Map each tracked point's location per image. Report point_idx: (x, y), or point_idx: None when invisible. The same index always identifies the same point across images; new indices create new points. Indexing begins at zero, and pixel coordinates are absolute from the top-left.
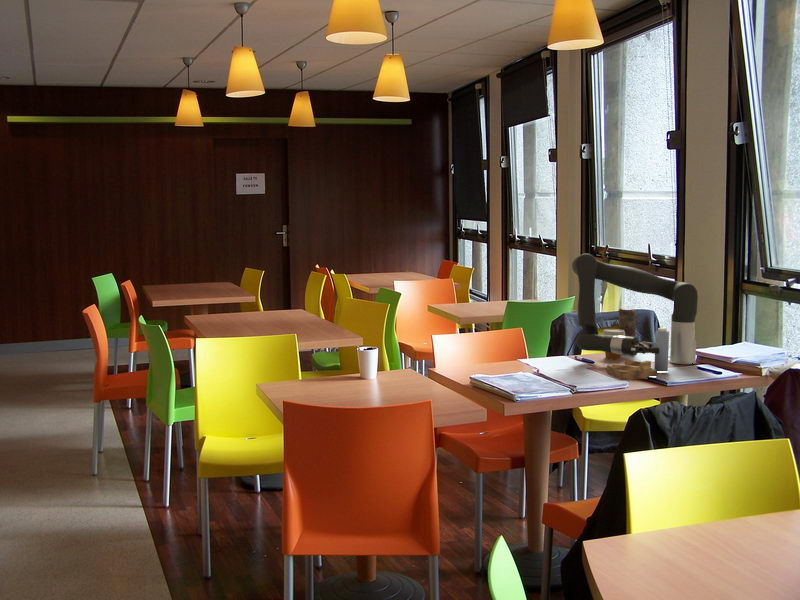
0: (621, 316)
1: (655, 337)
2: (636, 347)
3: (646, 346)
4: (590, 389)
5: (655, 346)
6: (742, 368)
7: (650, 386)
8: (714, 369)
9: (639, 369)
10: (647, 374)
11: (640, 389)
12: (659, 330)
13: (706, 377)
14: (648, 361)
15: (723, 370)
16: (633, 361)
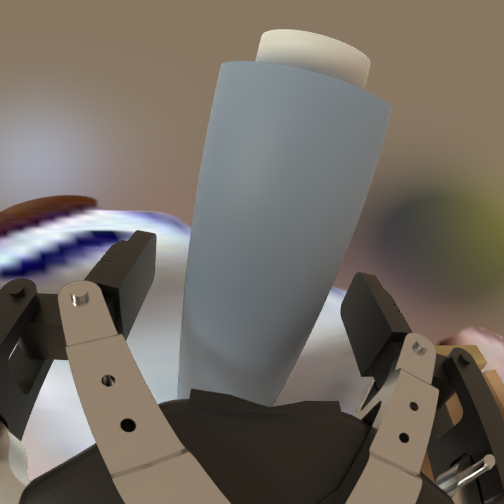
0: None
1: (355, 189)
2: (497, 430)
3: (419, 361)
4: None
5: (321, 298)
6: (24, 205)
7: (470, 336)
8: (42, 241)
9: (457, 402)
10: None
11: (498, 338)
12: (365, 83)
13: None
14: (448, 348)
15: (57, 227)
16: None
